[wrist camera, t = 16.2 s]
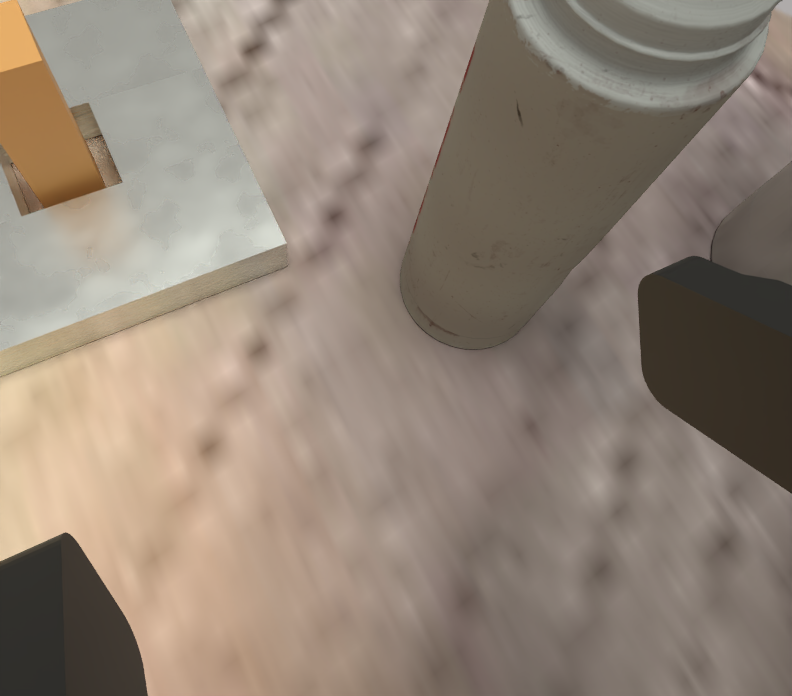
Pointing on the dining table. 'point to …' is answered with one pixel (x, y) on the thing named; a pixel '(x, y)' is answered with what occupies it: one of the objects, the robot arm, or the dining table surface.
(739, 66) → the thermos bottle
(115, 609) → the robot arm
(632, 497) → the dining table surface
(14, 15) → the square peg
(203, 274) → the collar plate
